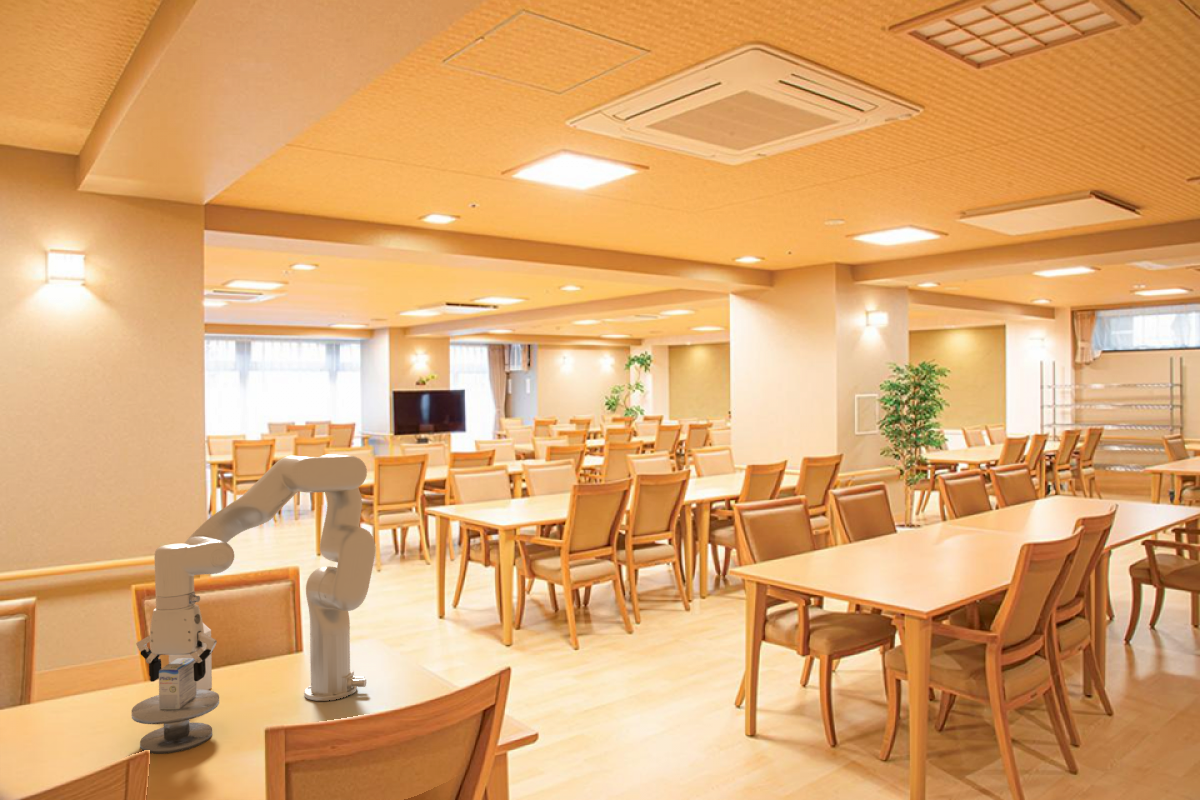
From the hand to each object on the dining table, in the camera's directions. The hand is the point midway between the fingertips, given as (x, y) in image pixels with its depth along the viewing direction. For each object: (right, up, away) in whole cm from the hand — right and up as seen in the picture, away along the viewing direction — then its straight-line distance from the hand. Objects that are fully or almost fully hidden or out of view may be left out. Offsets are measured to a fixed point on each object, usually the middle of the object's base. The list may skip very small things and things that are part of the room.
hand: (177, 679), depth 178 cm
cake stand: (0, -13, 0) cm, 13 cm away
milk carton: (-12, -14, +29) cm, 34 cm away
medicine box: (0, -5, 0) cm, 5 cm away
